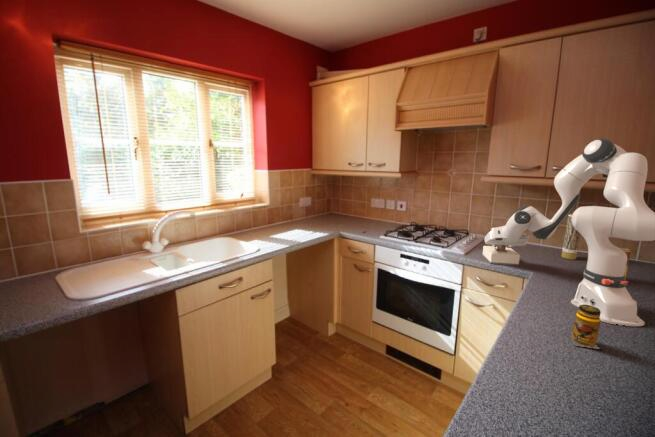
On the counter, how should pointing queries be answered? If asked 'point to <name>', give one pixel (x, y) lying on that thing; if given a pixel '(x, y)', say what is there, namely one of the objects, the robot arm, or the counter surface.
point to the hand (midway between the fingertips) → (500, 246)
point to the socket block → (501, 256)
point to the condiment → (586, 325)
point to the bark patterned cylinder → (570, 241)
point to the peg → (501, 248)
